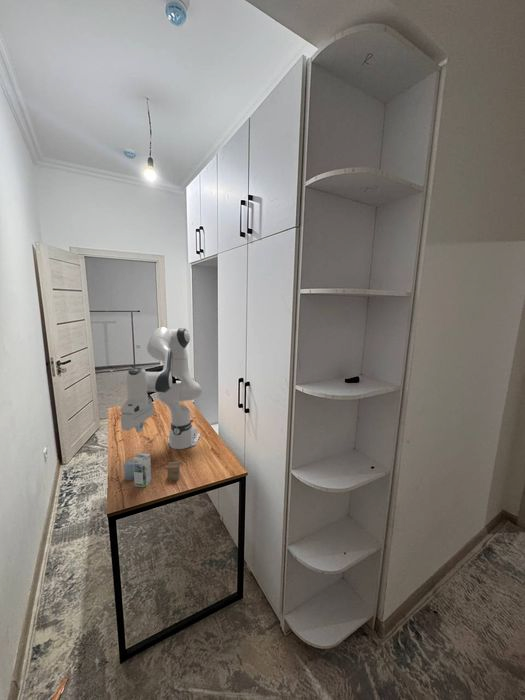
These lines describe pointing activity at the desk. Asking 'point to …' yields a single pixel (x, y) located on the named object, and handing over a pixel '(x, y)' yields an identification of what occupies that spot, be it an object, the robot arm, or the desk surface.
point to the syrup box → (142, 469)
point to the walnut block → (173, 471)
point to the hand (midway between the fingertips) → (139, 431)
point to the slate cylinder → (129, 470)
